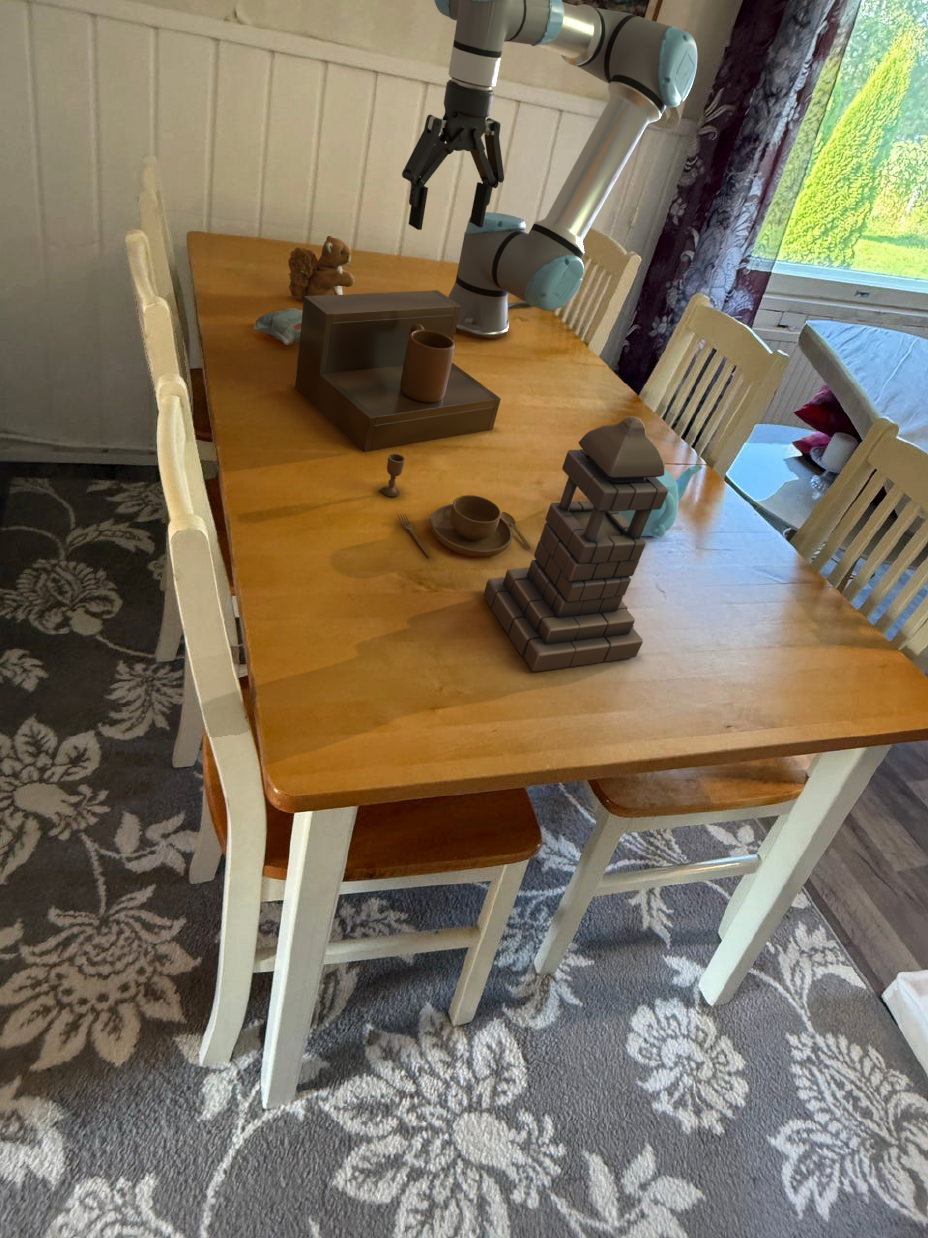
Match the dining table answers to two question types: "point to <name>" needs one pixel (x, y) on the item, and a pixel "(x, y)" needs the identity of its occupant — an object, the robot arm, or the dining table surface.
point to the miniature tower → (585, 555)
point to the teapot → (665, 504)
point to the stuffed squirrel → (320, 270)
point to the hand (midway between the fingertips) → (446, 225)
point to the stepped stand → (383, 369)
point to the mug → (426, 365)
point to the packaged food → (282, 325)
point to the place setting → (462, 521)
